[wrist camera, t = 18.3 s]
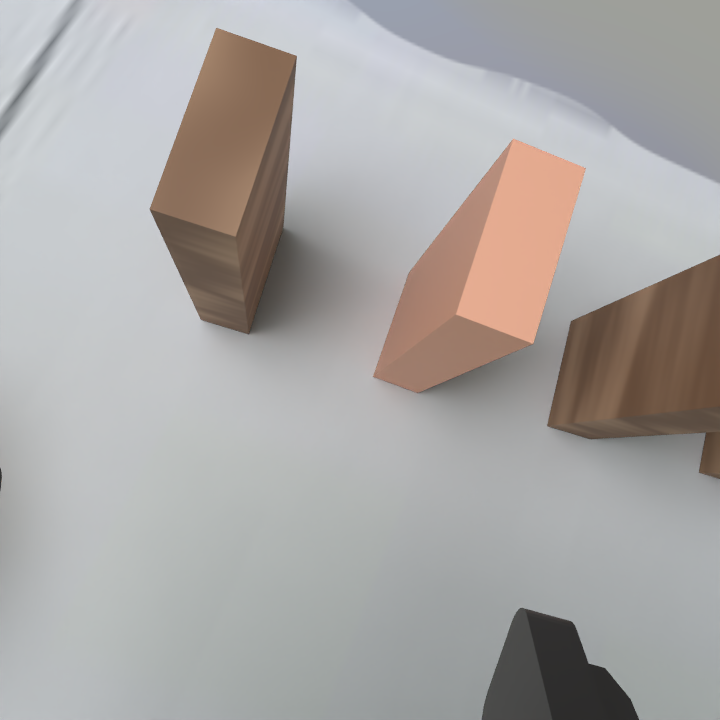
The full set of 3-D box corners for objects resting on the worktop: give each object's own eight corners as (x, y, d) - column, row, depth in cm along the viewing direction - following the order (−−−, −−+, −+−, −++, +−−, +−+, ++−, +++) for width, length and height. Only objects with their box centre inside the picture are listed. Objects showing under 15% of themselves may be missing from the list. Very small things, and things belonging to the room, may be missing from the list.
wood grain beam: (283, 227, 34) (296, 56, 20) (248, 334, 33) (235, 236, 19) (237, 212, 34) (216, 28, 19) (201, 319, 33) (149, 208, 18)
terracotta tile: (452, 289, 35) (585, 168, 21) (417, 393, 34) (533, 343, 19) (409, 272, 35) (513, 138, 20) (373, 376, 34) (455, 314, 19)
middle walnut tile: (612, 334, 36) (850, 250, 21) (590, 439, 35) (823, 425, 20) (571, 321, 36) (782, 226, 21) (547, 426, 35) (752, 402, 20)
